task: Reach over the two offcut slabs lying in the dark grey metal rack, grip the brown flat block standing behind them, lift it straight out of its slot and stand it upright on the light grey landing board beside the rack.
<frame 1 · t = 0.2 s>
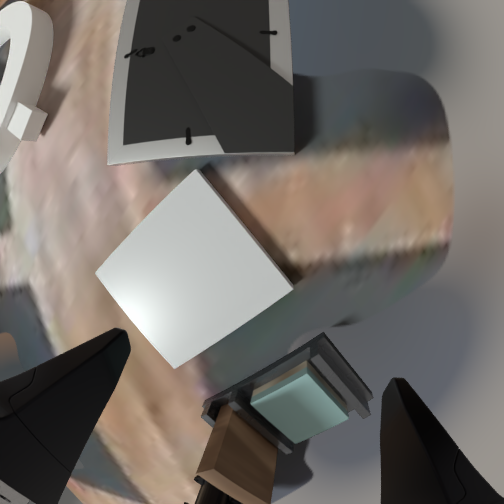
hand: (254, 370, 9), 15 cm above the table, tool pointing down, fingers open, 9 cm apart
offcut upper: (301, 406, 24), point 2 cm above the table, touching offcut lower
offcut lower: (301, 399, 25), point 1 cm above the table, touching offcut upper, rack
picture frame: (202, 50, 21), on the table
rack: (284, 401, 26), on the table
brown flat block: (250, 423, 26), point 1 cm above the table, touching rack
landing board: (185, 278, 25), on the table
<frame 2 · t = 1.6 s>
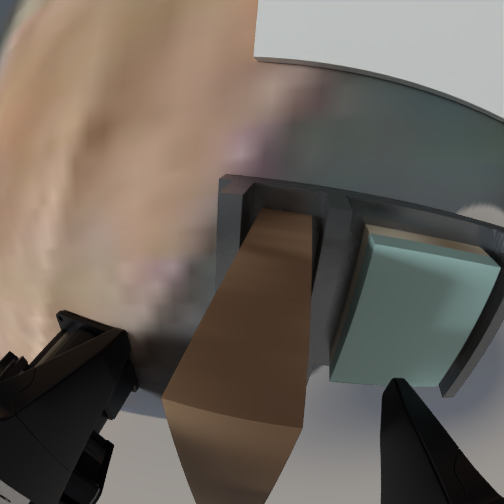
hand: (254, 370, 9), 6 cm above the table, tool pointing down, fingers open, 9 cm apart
offcut upper: (411, 317, 11), point 2 cm above the table, touching offcut lower
offcut lower: (405, 305, 12), point 1 cm above the table, touching offcut upper, rack
rack: (364, 288, 13), on the table
brown flat block: (276, 286, 13), point 1 cm above the table, touching rack
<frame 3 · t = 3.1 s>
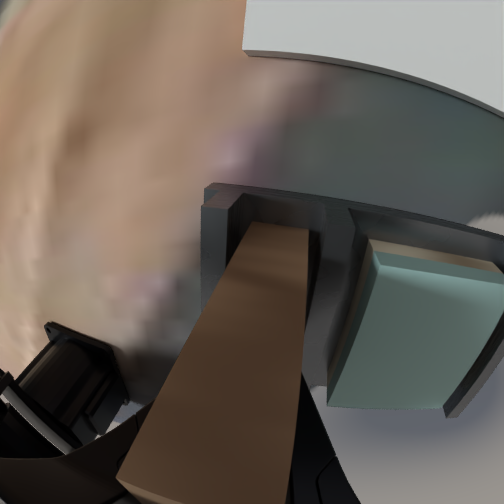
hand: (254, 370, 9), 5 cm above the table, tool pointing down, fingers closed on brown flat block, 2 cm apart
offcut upper: (416, 339, 10), point 2 cm above the table, touching offcut lower
offcut lower: (410, 324, 11), point 1 cm above the table, touching offcut upper, rack
rack: (366, 306, 12), on the table
brown flat block: (269, 306, 12), point 1 cm above the table, touching gripper, rack
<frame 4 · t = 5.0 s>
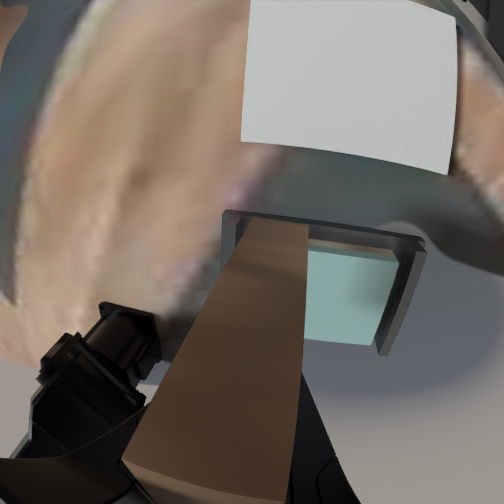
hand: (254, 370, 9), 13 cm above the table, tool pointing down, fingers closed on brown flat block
offcut upper: (342, 295, 20), point 2 cm above the table, touching offcut lower
offcut lower: (341, 288, 21), point 1 cm above the table, touching offcut upper, rack
rack: (314, 278, 22), on the table
brown flat block: (270, 301, 12), point 10 cm above the table, touching gripper
landing board: (357, 66, 15), on the table
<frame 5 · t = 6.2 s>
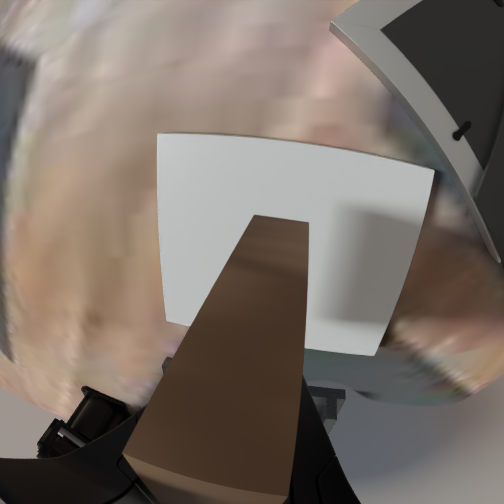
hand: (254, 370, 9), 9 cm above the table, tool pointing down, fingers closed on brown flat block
rack: (246, 407, 23), on the table
brown flat block: (271, 299, 12), point 5 cm above the table, touching gripper
landing board: (283, 250, 16), on the table
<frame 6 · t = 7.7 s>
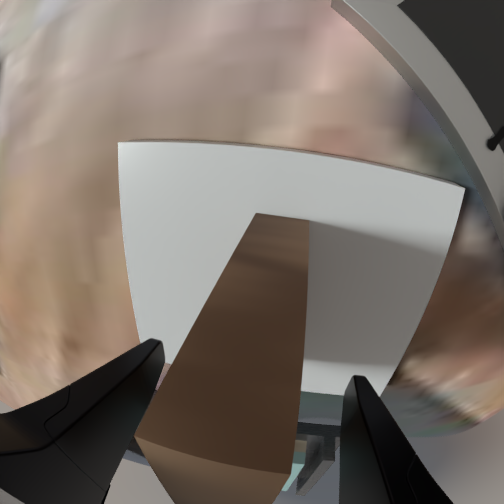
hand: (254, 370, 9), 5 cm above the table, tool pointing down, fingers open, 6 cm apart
offcut upper: (257, 464, 18), point 2 cm above the table, touching offcut lower
rack: (237, 439, 20), on the table
brown flat block: (272, 295, 12), point 1 cm above the table, touching landing board
landing board: (275, 284, 13), on the table
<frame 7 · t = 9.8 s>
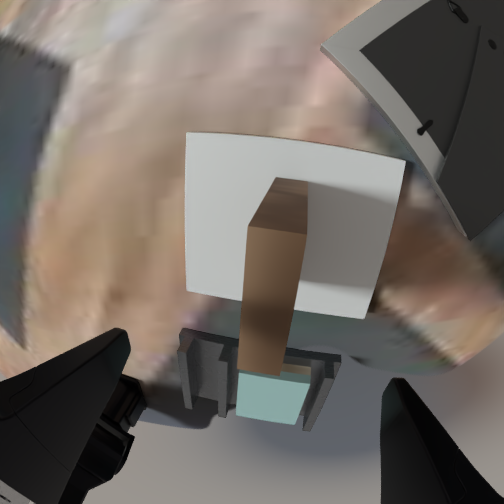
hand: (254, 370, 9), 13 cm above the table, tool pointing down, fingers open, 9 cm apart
offcut upper: (271, 393, 25), point 2 cm above the table, touching offcut lower
picture frame: (484, 68, 13), on the table
rack: (253, 375, 27), on the table
brown flat block: (285, 231, 19), point 1 cm above the table, touching landing board
landing board: (286, 227, 20), on the table
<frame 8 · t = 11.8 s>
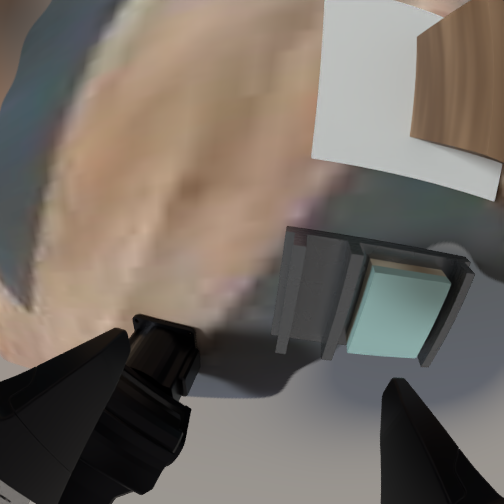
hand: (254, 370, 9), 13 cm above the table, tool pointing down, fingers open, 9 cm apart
offcut upper: (396, 312, 19), point 2 cm above the table, touching offcut lower
offcut lower: (393, 305, 20), point 1 cm above the table, touching offcut upper, rack
rack: (367, 294, 21), on the table
brown flat block: (428, 88, 13), point 1 cm above the table, touching landing board
landing board: (423, 91, 14), on the table
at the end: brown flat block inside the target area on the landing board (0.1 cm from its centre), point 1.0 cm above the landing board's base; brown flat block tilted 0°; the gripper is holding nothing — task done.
